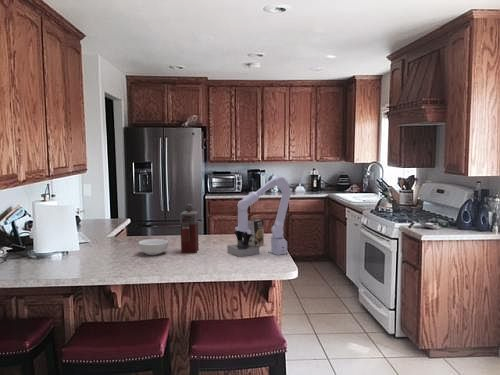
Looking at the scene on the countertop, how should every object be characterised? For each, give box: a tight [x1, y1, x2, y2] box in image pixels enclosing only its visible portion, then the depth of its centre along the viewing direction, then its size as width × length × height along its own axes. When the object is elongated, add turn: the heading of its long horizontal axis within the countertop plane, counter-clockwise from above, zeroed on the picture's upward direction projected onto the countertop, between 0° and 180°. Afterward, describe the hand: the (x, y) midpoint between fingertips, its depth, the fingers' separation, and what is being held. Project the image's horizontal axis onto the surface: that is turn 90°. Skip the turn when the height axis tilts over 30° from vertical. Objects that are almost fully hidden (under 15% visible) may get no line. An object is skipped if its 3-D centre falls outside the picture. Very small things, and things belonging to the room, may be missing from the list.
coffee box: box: [248, 218, 265, 247], centre depth 264 cm, size 9×6×16 cm
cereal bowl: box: [138, 238, 169, 256], centre depth 246 cm, size 17×17×7 cm
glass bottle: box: [179, 203, 200, 254], centre depth 248 cm, size 9×11×28 cm
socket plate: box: [226, 243, 260, 258], centre depth 244 cm, size 14×13×4 cm
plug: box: [237, 240, 249, 248], centre depth 244 cm, size 4×5×6 cm
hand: (243, 244), depth 244 cm, fingers open, 6 cm apart
